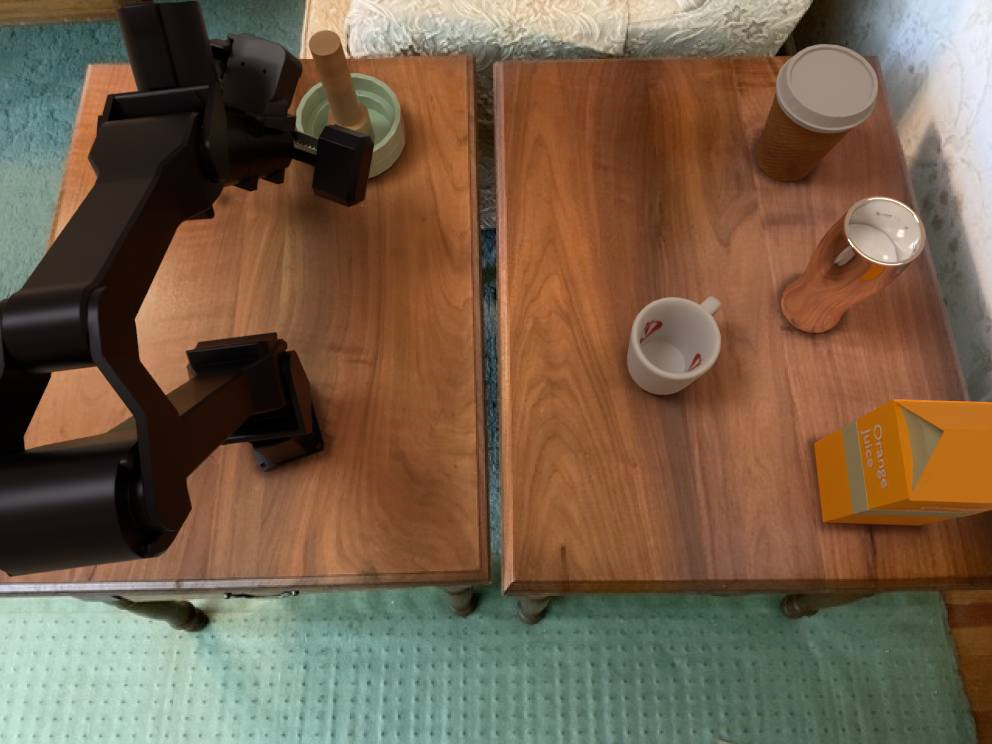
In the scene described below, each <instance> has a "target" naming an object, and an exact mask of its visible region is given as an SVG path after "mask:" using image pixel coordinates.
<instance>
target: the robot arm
mask: <svg viewBox="0 0 992 744" xmlns="http://www.w3.org/2000/svg"><path fill="white" fill-rule="evenodd" d="M115 14H116V18H117V21H118V25H119V29H120V32H121V36H122V40H123V43H124V46H125V50H126V54H127V58H128V62H129V64H130V68H131V72H132V75H133V79H134V83H135V85H136V90H135V91H133V90H132V91H126V92H117V93H116V92H115V93H109V94H107V95H106V99H105V102H104V107H103V110H102V113H101V114H100V115H97V122H96V123H97V124H96V133H95V138H94V140H93V143H92V144H91V147H90V150H89V152H88V155H87V160H88V162H89V165H90V166H91V168H92V170H93V172H94V174H95V176H96V179H95V181H94V184H93V186H92V188H91V189H90V190H89V192H88V193H87V195H86V196H85V197H84V198H83V200H82V201H81V203H80V204H79V206H78V208H77V209H76V210H75V212H74V213H73V214H72V216H71V217H70V219H69V220H68V222H66V224H65V226H64V227H63V229H62V230H61V231H60V232H59V234H58V235H57V237H56V238H55V240H54V241H53V243H52V244H51V246H50V247H49V249H48V250H47V251H46V253H44V256H43V257H42V259H41V260H40V261H39V262H38V264H37V266H36V267H35V268H34V269H33V271H32V272H31V274H30V276H28V278H27V280H25V282H24V284H23V285H22V287H21V288H19V289H18V290H17V291H16V292H13V293H12V294H11V295H10V296H9V297H7V298H3V299H1V300H0V571H2V572H4V573H6V575H7V576H8V577H10V578H12V577H21V576H27V575H35V574H43V573H51V572H57V571H65V570H72V569H73V570H74V569H80V568H87V567H88V568H89V567H94V566H95V567H96V566H102V565H108V564H109V565H111V564H117V563H125V562H131V561H132V562H133V561H140V560H146V559H153V558H155V559H156V558H159V557H162V556H163V554H165V553H166V552H167V551H168V550H169V548H170V547H171V545H172V544H173V543H174V542H175V540H176V538H177V536H178V534H179V533H180V531H181V529H182V527H183V526H184V524H185V522H186V521H187V519H188V517H189V516H190V514H191V511H192V509H193V505H192V501H191V497H190V492H189V487H188V478H189V477H190V476H191V475H192V474H193V473H194V472H195V471H196V470H197V469H198V468H199V466H201V465H202V464H203V463H204V462H205V461H206V460H207V459H208V458H209V457H210V456H212V454H213V453H214V452H215V451H217V450H218V448H219V447H220V446H226V445H227V446H228V445H235V444H243V443H248V444H250V445H252V449H253V452H254V457H255V460H256V461H255V462H256V464H257V468H258V470H260V471H261V472H268V471H270V470H273V469H276V468H278V467H279V468H280V467H283V466H285V465H287V464H290V463H294V462H296V461H298V460H301V459H304V458H308V457H309V456H313V455H316V454H318V453H321V452H323V451H324V450H325V448H326V443H325V440H324V437H323V432H322V430H321V426H320V423H319V420H318V416H317V413H316V410H315V409H316V408H315V406H314V403H313V399H312V396H311V382H310V381H309V378H308V376H307V373H306V370H305V369H304V366H303V364H302V362H301V359H300V357H299V354H298V353H297V351H296V350H295V349H294V350H293V349H291V350H288V342H287V341H286V340H284V338H278V332H277V331H273V332H265V333H258V334H257V333H256V334H250V335H242V336H234V337H226V338H218V339H208V340H203V341H198V342H197V343H196V346H194V348H193V349H186V350H185V351H184V352H185V355H186V358H187V361H188V363H187V365H186V370H187V374H188V380H187V381H185V382H184V383H183V384H180V386H178V387H176V388H174V389H173V390H172V391H169V392H168V393H165V392H164V391H163V389H162V388H161V387H160V386H159V384H158V383H157V381H156V380H155V378H154V377H153V375H152V374H151V373H150V372H149V370H148V369H147V368H146V366H145V365H144V364H143V363H142V361H141V358H140V349H139V339H138V329H137V328H138V327H137V322H136V318H137V316H138V314H139V312H140V310H141V308H142V305H143V303H144V302H145V300H146V297H147V295H148V293H149V291H150V288H151V286H152V284H153V282H154V280H155V277H156V275H157V273H158V271H159V269H160V266H161V264H162V262H163V260H164V258H165V256H166V254H167V252H168V250H169V247H170V245H171V243H172V241H173V239H174V236H175V235H176V232H177V230H178V228H179V227H180V226H181V225H182V223H185V222H186V221H187V222H188V221H203V220H212V219H214V218H215V215H216V213H215V209H214V204H215V203H216V202H217V200H219V197H220V196H221V195H222V193H223V190H224V188H227V187H232V186H233V187H236V188H238V189H241V190H244V191H247V192H249V193H251V192H255V191H258V187H259V186H258V185H259V180H263V181H266V182H270V183H272V184H275V185H281V184H284V183H285V175H286V169H288V168H289V167H290V165H291V164H292V161H293V160H295V161H297V162H301V163H304V164H305V165H310V166H311V167H314V168H313V169H314V170H313V174H312V181H311V189H312V191H313V193H314V195H315V196H316V197H319V198H321V199H324V200H327V201H330V202H332V203H336V204H338V205H341V206H344V207H347V208H350V207H353V206H356V205H359V204H360V203H362V202H364V201H365V200H366V194H367V190H368V189H367V188H368V183H369V179H370V178H369V172H370V166H371V161H372V155H373V149H374V142H373V141H372V139H371V137H370V136H369V135H366V134H363V133H360V132H358V131H355V130H352V129H349V128H346V127H343V126H340V125H337V124H335V125H327V126H325V127H324V129H323V131H322V132H321V134H320V136H319V138H318V137H315V136H312V135H309V134H306V133H303V132H300V131H298V130H297V129H296V128H297V127H296V119H297V116H296V114H295V115H294V114H292V113H289V109H290V108H291V106H292V103H293V101H294V97H295V93H296V90H297V87H298V83H299V80H300V78H301V77H302V75H303V70H304V69H303V64H302V61H301V60H300V59H299V58H297V57H296V56H295V55H294V54H293V53H291V51H289V50H288V49H286V48H285V47H284V46H283V45H282V44H280V43H278V42H274V41H271V40H268V39H266V38H262V37H259V36H256V35H253V34H249V33H246V32H244V33H240V34H234V33H231V32H228V33H227V35H226V38H227V39H221V38H218V37H217V38H210V37H209V33H208V30H207V25H206V20H205V16H204V12H203V7H202V3H201V2H200V1H197V0H187V1H186V0H185V1H176V2H175V1H174V2H171V1H170V2H169V1H167V2H156V1H154V0H150V1H139V2H132V3H131V2H130V3H124V5H123V7H121V8H120V7H119V8H116V9H115ZM303 145H304V146H303ZM305 145H307V147H305ZM310 146H311V148H315V150H314V149H311V148H308V147H310ZM88 368H97V369H98V370H99V371H100V373H101V374H102V376H103V377H104V378H105V380H106V381H107V382H108V384H109V385H110V387H111V389H113V391H114V392H115V393H116V395H117V396H118V398H119V399H120V401H122V403H123V404H124V405H125V407H126V408H127V409H128V411H129V412H130V413H131V415H132V416H130V417H128V418H127V419H125V420H123V421H122V422H120V423H119V424H117V425H116V426H114V427H113V428H111V429H109V430H107V431H106V432H103V433H99V434H95V435H90V436H84V437H78V438H74V439H69V440H64V441H58V442H53V443H49V444H48V443H47V444H44V445H39V446H34V447H32V448H31V447H30V448H27V449H26V444H25V436H26V433H27V431H28V429H29V426H30V424H31V422H32V420H33V418H34V415H35V414H36V411H37V409H38V407H39V404H40V403H41V400H42V399H43V396H44V395H45V392H46V389H47V387H48V385H49V383H50V381H51V378H52V373H57V372H58V373H59V372H64V371H73V370H81V369H88ZM319 445H321V447H319ZM318 447H319V448H318ZM263 465H265V466H264V467H263Z"/></svg>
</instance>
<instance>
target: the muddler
mask: <svg viewBox="0 0 992 744" xmlns="http://www.w3.org/2000/svg"><path fill="white" fill-rule="evenodd" d="M308 48H309V52H310V54H311V57H312V60H313V62H314V65H315V68H316V71H317V74H318V77H319V80H320V82H321V83H322V85H323V88H324V91H325V94H326V97H327V100H328V102H329V105H330V109H329V111H328V116H327V118H328V122H329V125H335V124H337V125H340V126H343V127H346V128H349V129H352V130H355V131H358V132H360V133H363V134H366V135H369V136H370V137H371V139H372V141H373V142H374V141H375V134H374V131H373V127H372V123H371V120H370V116H369V113H368V109H367V107H366V106H365V105H364V104H363V103H362V102H361V101H359V100H358V98H357V95H356V91H355V88H354V84H353V81H352V78H351V74H350V73H351V71H350V68H349V65H348V61H347V57H346V53H345V50H344V46H343V43H342V40H341V37H340V36H339V34H338V33H336V32H335V31H333V30H329V29H324V30H320V31H317V32H315V33H314V34H313V35H312V36H311V37H310V38H309V40H308Z"/></svg>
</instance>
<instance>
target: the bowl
mask: <svg viewBox="0 0 992 744" xmlns="http://www.w3.org/2000/svg"><path fill="white" fill-rule="evenodd" d="M350 74H351V78H352V81H353V84H354V88H355V91H356V95H357V98H358V100H359V101H361V102H362V103H363V104H364V105H365V106H366V107H367V109H368V113H369V116H370V120H371V123H372V127H373V131H374V134H375V141H374V149H373V155H372V161H371V166H370V172H369V178H368V179H371V178H374V177H377V176H379V175H380V174H382V173H384V172H385V171H386V170H388V169H390V168H391V167H392V166H393V165H394V163H395V162H396V161H397V160H398V159H399V157H401V154H402V152H403V149H404V147H405V144H406V127H405V123H404V118H403V113H402V109H401V104H400V102H399V99H398V97H397V95H396V92H394V91H393V90H392V88H391V87H390V86H389V85H388V84H387V83H385V82H384V81H382V80H380V79H378V78H377V77H374V76H372V75H369V74H363V73H360V72H359V73H358V72H350ZM329 109H330V105H329V102H328V100H327V97H326V94H325V91H324V88H323V85H322V83H321V81H320V82H318V83H316V84H315V85H313V86H312V87H311V88H309V90H307V92H306V93H305V94H304V95H303V96H302V97H301V100H300V102H299V105H298V106H297V109H296V112H295V113H296V114H295V116H297V119H296V127H295V128H296V130H297V131H300V132H303V133H306V134H309V135H312V136H315V137H318V138H319V136H320V134H321V132H322V131H323V129H324V127H325V126H327V125H329V122H328V118H327V116H328V111H329ZM302 146H304V145H303V144H302ZM305 147H307V145H305ZM308 148H311V146H310V147H308ZM311 149H314V150H315V148H311Z"/></svg>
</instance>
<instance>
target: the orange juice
mask: <svg viewBox="0 0 992 744" xmlns="http://www.w3.org/2000/svg"><path fill="white" fill-rule="evenodd" d="M813 447H814V456H815V464H816V472H817V473H816V474H817V481H818V490H819V499H820V507H821V516H822V522H823V523H831V524H834V523H835V524H859V525H860V524H863V525H889V526H893V525H894V526H897V525H898V526H917V527H919V526H923V525H927V524H932V523H937V522H941V521H947V520H952V519H956V518H957V519H958V518H964V517H967V516H968V517H969V516H973V515H978V514H980V513H985V512H989V511H992V401H967V400H966V401H965V400H964V401H962V400H960V401H959V400H932V399H898V398H897V399H895V398H894V399H893V398H892V399H891V400H889V401H888V402H886V403H884V404H882V405H881V406H879V407H877V408H875V409H873V410H871V411H870V412H867V413H866V414H864V415H863V416H860V417H859V418H857V419H854V420H852V421H850V422H848V423H846V424H844V425H843V426H842V427H841V428H839V429H837V430H835V431H833V432H832V433H830V434H828V435H826V436H824V437H823V438H821V439H819V440H817V441H816V442H814V443H813Z"/></svg>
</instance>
